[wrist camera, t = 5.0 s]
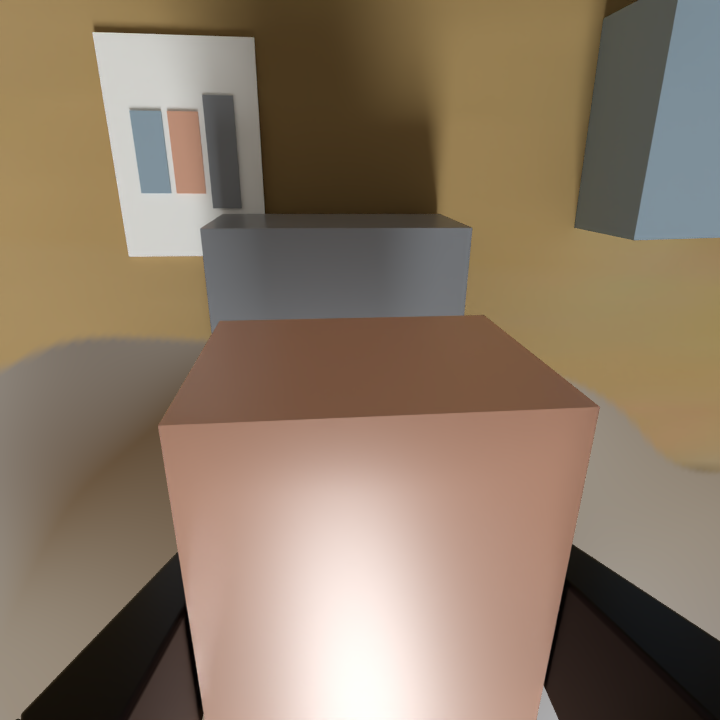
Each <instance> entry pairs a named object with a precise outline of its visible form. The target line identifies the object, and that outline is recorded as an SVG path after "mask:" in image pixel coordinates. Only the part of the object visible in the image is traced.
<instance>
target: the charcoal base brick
mask: <svg viewBox="0 0 720 720" xmlns="http://www.w3.org/2000/svg"><path fill="white" fill-rule="evenodd" d="M200 234H201V242H202V251H203V260H204V269H205V278H206V287H207V295H208V304H209V313H210V322H211V331H212V333H213V331H214V329H215V328H216V326H217V324H218V323H219V321H237V320H283V319H328V318H374V317H420V316H464V310H465V299H466V289H467V278H468V268H469V257H470V247H471V236H472V228H471V227H469V226H467V225H464V224H462V223H460V222H457V221H455V220H453V219H450V218H448V217H446V216H443V215H441V214H222V215H220V216H219V217H217V218H216V219H214V220H213V221H211V222H209V223H208V224H206V225H205V226H203V227H202V228H200Z"/></svg>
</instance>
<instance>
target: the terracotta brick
mask: <svg viewBox="0 0 720 720" xmlns="http://www.w3.org/2000/svg"><path fill="white" fill-rule="evenodd" d="M599 409H600V407H599V406H598V405H597V404H595V403H594V402H593V401H592V400H590V399H589V398H588V397H587V396H585V395H584V394H583V393H582V392H580V391H579V390H578V389H577V388H575V387H574V386H573V385H572V384H570V383H569V382H568V381H566V380H565V379H564V378H563V377H561V376H560V375H559V374H558V373H556V372H555V371H554V370H553V369H551V368H550V367H549V366H548V365H546V364H545V363H544V362H542V361H541V360H540V359H539V358H537V357H536V356H535V355H534V354H532V353H531V352H530V351H529V350H527V349H526V348H525V347H523V346H522V345H521V344H520V343H518V342H517V341H516V340H515V339H513V338H512V337H511V336H510V335H508V334H507V333H506V332H505V331H503V330H502V329H501V328H499V327H498V326H497V325H496V324H494V323H493V322H492V321H491V320H489V319H488V318H487V317H486V316H484V315H466V316H420V317H374V318H328V319H283V320H237V321H219V323H218V324H217V326H216V328H215V329H214V331H213V333H212V335H211V336H210V338H209V340H208V341H207V343H206V345H205V347H204V348H203V350H202V352H201V354H200V355H199V357H198V358H197V360H196V362H195V364H194V365H193V367H192V369H191V370H190V373H189V374H188V376H187V377H186V379H185V381H184V383H183V384H182V386H181V387H180V389H179V391H178V393H177V394H176V396H175V398H174V399H173V401H172V403H171V405H170V406H169V408H168V410H167V412H166V413H165V415H164V417H163V418H162V420H161V422H160V423H159V425H158V428H159V434H160V441H161V447H162V453H163V460H164V466H165V472H166V479H167V485H168V491H169V497H170V503H171V509H172V516H173V523H174V529H175V534H176V541H177V548H178V554H179V560H180V567H181V573H182V579H183V586H184V592H185V598H186V605H187V611H188V617H189V623H190V630H191V636H192V642H193V649H194V655H195V661H196V668H197V674H198V680H199V687H200V693H201V699H202V705H203V712H204V718H205V720H536V719H537V714H538V709H539V704H540V700H541V695H542V690H543V685H544V680H545V675H546V670H547V665H548V660H549V655H550V650H551V645H552V641H553V636H554V631H555V626H556V621H557V616H558V611H559V606H560V601H561V596H562V591H563V586H564V581H565V577H566V572H567V567H568V562H569V557H570V552H571V547H572V542H573V537H574V532H575V527H576V522H577V518H578V512H579V508H580V503H581V498H582V493H583V488H584V483H585V478H586V473H587V468H588V463H589V458H590V454H591V448H592V444H593V439H594V434H595V429H596V424H597V419H598V414H599Z"/></svg>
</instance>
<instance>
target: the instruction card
mask: <svg viewBox="0 0 720 720" xmlns="http://www.w3.org/2000/svg"><path fill="white" fill-rule="evenodd" d="M93 39H94V45H95V51H96V57H97V63H98V69H99V75H100V82H101V88H102V94H103V100H104V106H105V112H106V118H107V125H108V131H109V137H110V143H111V149H112V155H113V161H114V167H115V174H116V180H117V186H118V192H119V198H120V204H121V210H122V217H123V223H124V229H125V235H126V241H127V247H128V253H129V257H133V256H203V251H202V242H201V234H200V228H202V227H203V226H205V225H206V224H208V223H209V222H211V221H213V220H214V219H216V218H217V217H219V216H220V215H222V214H265V205H264V188H263V172H262V156H261V139H260V123H259V107H258V90H257V74H256V58H255V41H254V37H228V36H197V35H166V34H135V33H104V32H93Z"/></svg>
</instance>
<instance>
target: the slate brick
mask: <svg viewBox="0 0 720 720" xmlns="http://www.w3.org/2000/svg"><path fill="white" fill-rule="evenodd" d="M574 228H579V229H583V230H588V231H593V232H598V233H602V234H607V235H612V236H617V237H621V238H626V239H631V240H654V239H687V238H720V0H638V1H636V2H634V3H632V4H630V5H628V6H626V7H625V8H623V9H621V10H619V11H617V12H615V13H613V14H611V15H609V16H607V17H605V18H604V19H603V26H602V33H601V40H600V48H599V55H598V62H597V69H596V76H595V83H594V90H593V98H592V105H591V112H590V119H589V126H588V133H587V141H586V148H585V155H584V162H583V169H582V176H581V184H580V191H579V198H578V205H577V212H576V219H575V227H574Z"/></svg>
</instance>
